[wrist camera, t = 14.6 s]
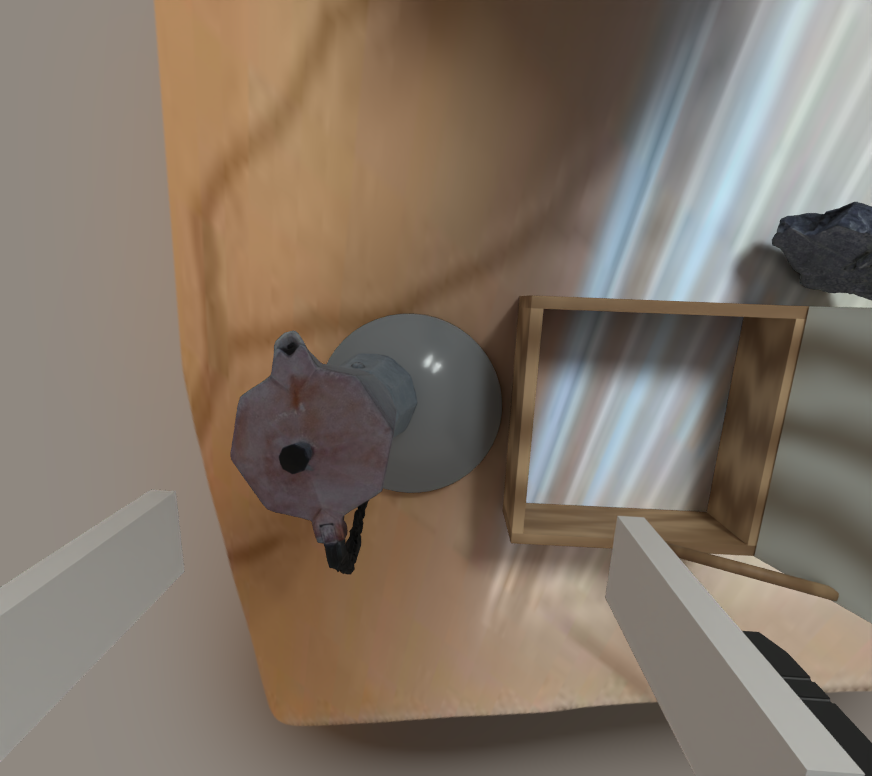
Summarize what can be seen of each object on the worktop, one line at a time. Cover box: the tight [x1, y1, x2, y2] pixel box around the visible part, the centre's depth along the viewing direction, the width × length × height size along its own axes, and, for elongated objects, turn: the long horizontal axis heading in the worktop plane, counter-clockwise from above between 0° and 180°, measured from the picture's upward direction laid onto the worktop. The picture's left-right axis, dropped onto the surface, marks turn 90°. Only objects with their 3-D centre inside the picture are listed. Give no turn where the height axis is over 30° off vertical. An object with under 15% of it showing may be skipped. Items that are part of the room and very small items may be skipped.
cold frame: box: [503, 296, 872, 623], centre depth 28 cm, size 22×30×27 cm
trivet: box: [327, 314, 502, 493], centre depth 41 cm, size 18×18×1 cm
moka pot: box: [231, 331, 417, 574], centre depth 31 cm, size 10×15×20 cm, turn 15°
